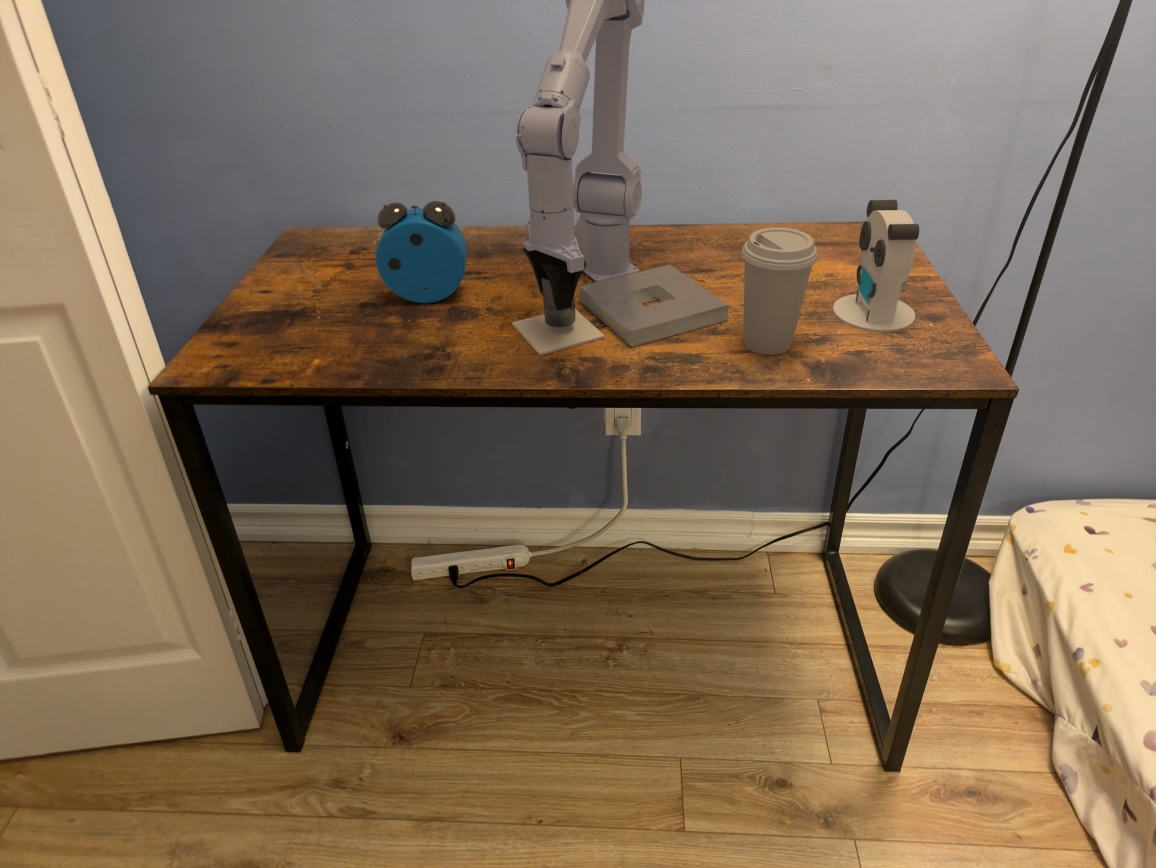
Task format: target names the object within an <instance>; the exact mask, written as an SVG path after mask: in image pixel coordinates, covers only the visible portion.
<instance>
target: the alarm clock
mask: <svg viewBox="0 0 1156 868" xmlns="http://www.w3.org/2000/svg"><path fill="white" fill-rule="evenodd" d="M376 223H377V225H378V227H379V228H380V230H383V232H382V233H381V234H382V235H381V237H380V239H379V241H378V244H377V247H376V250H375V251H376V252H375V264H376V268H377V272H378V274H379V276H380V278H381V280H382V281H383V283H384V284H385V286H387V288H389V289H390V290H391V291H392V292H393V294H395V295H397V296H399V297H400V298H402V299H405V300H407V301H410V302H413V303H419V304H431V303H437V302H439V301H442V300H444V299H446V298H448V297H449V296H451V295H452V294H453V293H454V292H455V291H456V290H457V289H458V288H459V286H460V284H461V282H462V280H463V277H464V274H465V270H466V265H467V260H468V259H467V258H468V246H467V242H466V239H465V236H464V234H463V232H462V231H461V228H460V227H459V226H458V225H457V224H456V214H455V212H454V209H453V208H452V207H451V206H449V204H447V202H444V201H439V200H432V201H429V202H427V203H426V204H425V205H424V206H423V207H419V205H411V206H410V208H409V209H408V207H407V206H406V205H404V204H403V203H401V202H397V201H396V202H395V201H394V202H391V203H387V204H383V207H382V208H381V209H380V211H379V212H378V215H377V220H376Z"/></svg>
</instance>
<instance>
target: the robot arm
mask: <svg viewBox="0 0 1156 868" xmlns="http://www.w3.org/2000/svg"><path fill="white" fill-rule="evenodd" d="M645 2H646V0H565V4H566V8H567V13H566V18H565V21H564V27H563V30H562V31H563V32H562V35H561V40H560V45H559V49H558V52H555V53H552V54H550V56H548V58H547V59H546V62H545V64H544V67H543V70H542V74H541V77H540V79H539V83H538V86H537V89H536V92H535V94H534V97H533V101H532V103H531V105H530V106H528V108H526V109H523V110H522V111H521V112H520V114H519V116H518V119H517V124H516V135H515V142H516V147H517V150H518V152H519V153H520V157H521V165H522V168H523V170H524V171H525V172H526V176H527V177H526V178H527V189H528V191H527V193H528V206H529V208H528V209H529V220H528V221H525V222H524V225H525V226H524V227H525V235H526V236H527V237H528V238H529V239H526V240H524V241H523V247H522V250H523V252H524V254H525V256H526V257H527V259H528V260H529V263H530V265H531V268H532V270H533V273H534V276H535V278H536V281H537V282H536V283H537V286H538V288H539V292H540V294H541V296H542V297H543V291H542V276H543V275H544V274H547V276H548V279H549V282H550V285H551V289H552V295H553V300H554V304H555V307H556V309H557V310H558V311H560V310H564V309H568V308H571V306H572V302H573V298H574V296H575V294H576V292H575V291H576V289H577V286H578V283H579V280H580V278H581V276H582V274H583V273H584V274H585V275H587V276H588V277H590V278H591V279H592V281H594V283H595V282H599V281H603V280H607V279H611V278H616V277H620V276H624V275H628V274H632V273H636V272H640V269H639V268H638V267H637V266H635V265H634V264H632V263H631V262H630V240H631V239H630V237H631V236H630V230H631V229H630V228H631V226H630V225H631V223H630V222H631V221H630V219H631V220H632V219H633V218H634V217H635V216H636V215H637V214H638V212H639V210H640V206H641V201H642V195H643V194H642V190H643V189H642V188H643V187H642V183H641V172H642V171H641V168H640V165H639V164H637V162H635V160H633V159H632V158H631V157H630V156H629V155H628V154H626V152H625V151H624V150H625V131H626V117H627V116H626V112H627V97H628V96H627V95H628V80H629V79H628V77H629V63H630V62H629V61H630V60H629V59H630V45H631V44H630V43H631V37H632V33H633V30H634V29H636V28H638V27H640V26H642V24H643V17H644V14H645ZM594 44H595V52H594V53H595V54H594V55H595V57H594V83H593V84H594V85H593V88H594V89H593V110H592V112H593V113H592V136H591V137H592V138H591V152H590V153H589V154H588V155H587V156H585V157H584V158H583V159H581V160H580V161H579V162H578V163H577V165H576V167H575V173H574V181H573V156H575V153H576V151H577V148H578V145H579V138H580V128H581V127H580V126H581V123H582V122H581V119H582V117H581V116H582V115H581V113H580V110H581V105H582V103H583V100H584V96H585V93H586V91H587V87H588V84H589V82H590V81H589V80H590V78H591V72H590V69H589V68H590V67H588V65H587V60H588V59H589V56H590V53H591V51H592V49H593V46H594ZM574 209H575V212H576V213H578V214H580V215H579V216H578V218H577V220H576V224H575V215H574V214H575V213H574Z"/></svg>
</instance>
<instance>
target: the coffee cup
mask: <svg viewBox="0 0 1156 868" xmlns="http://www.w3.org/2000/svg"><path fill="white" fill-rule="evenodd" d="M814 241H815V240H814V239H813V236H811V235H809V234H808V233H806V232H804V231H803V230H802V231H801V230H799V229H794V228H788V227H766V228H765V227H764V228H762V229H761V228H760V229H757V230H755V231H754V232H752V233H751V234H750V235H749V237H748V240H747V241H745V243H744V244H743V247H742V249H741V252H740V254H741V257H742V259H743V260H744V270H743V271H744V274H743V275H744V279H743V280H744V281H743V282H744V283H743V288H744V289H743V325H742V326H743V329H742V331H743V334H742V336H743V340H742V342H743V345H744V347H745V348H746V349H748V350H749V351H751V352H754V353H756V354H760V355H766V356H776V355H780V354H784V353H787V352H789V350H790V349H791V348H792V345H793V340H794V336H795V334H796V333H795V332H796V329H797V324H798V320H799V317H800V315H801V314H800V313H801V311H802V310H801V309H802V305H803V302H804V299H805V295H806V290H807V288H808V283H809V279H810V275H811V273H812V272H811V271H812V269H813V266H814V265H815V264H816V263H817V261H818V260H819V255H818V253H819V252H818V250H817V247H816V245H815V243H814Z"/></svg>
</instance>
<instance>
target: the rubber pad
mask: <svg viewBox="0 0 1156 868" xmlns="http://www.w3.org/2000/svg"><path fill="white" fill-rule="evenodd" d="M575 316H576V320H575V322H574V323H573V324H571V325H569V326H566V327H552V326H549V325H547V324H546V323H545V317H544V314H541V315H536V316H532V317H528V318H525V319H520V320H516V321H512V322H511V325H512V327H513V328H514V329H515V330H516V331H517V332H518V333H519V335H521V337H522V338H523V339H524V340H525V341H526V342H527V344H529V346H530V347H532V349H533V350H534V351H535V353H537V354H538V355H539V356H543V355H547V354H550V353H555V352H558V351H559V352H560V351H561V350H566V349H569V348H572V347H576V346H580V345H584V344H588V343H592V342H595V341H600V340H603V339H605V338H606V337H605V335H604V333H602V332H601V331H600V330H599V329H598V328H597V327H596V326H595V325H594V324H593V323H591V321H590V320H588V319H587V318H586V317H585V316H584V315H583V314H582V313H580V312H579V311H578V309H576V308H575Z"/></svg>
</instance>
